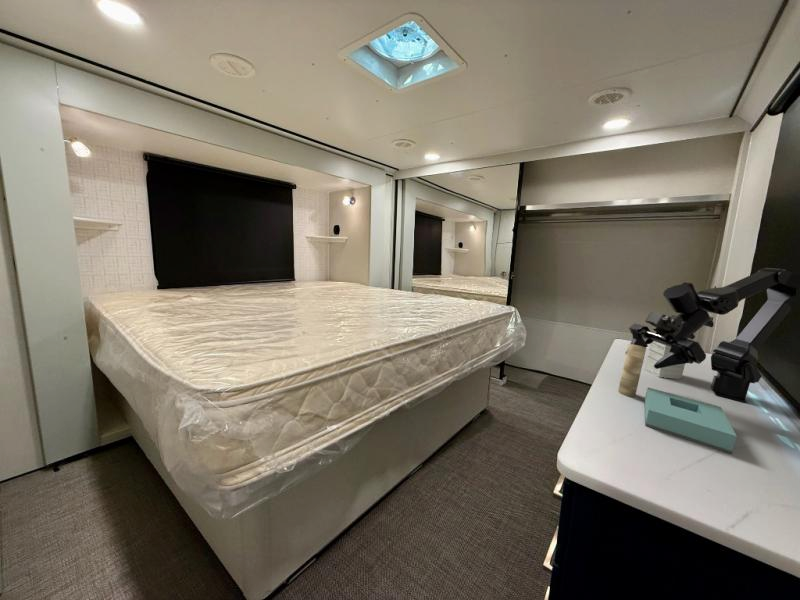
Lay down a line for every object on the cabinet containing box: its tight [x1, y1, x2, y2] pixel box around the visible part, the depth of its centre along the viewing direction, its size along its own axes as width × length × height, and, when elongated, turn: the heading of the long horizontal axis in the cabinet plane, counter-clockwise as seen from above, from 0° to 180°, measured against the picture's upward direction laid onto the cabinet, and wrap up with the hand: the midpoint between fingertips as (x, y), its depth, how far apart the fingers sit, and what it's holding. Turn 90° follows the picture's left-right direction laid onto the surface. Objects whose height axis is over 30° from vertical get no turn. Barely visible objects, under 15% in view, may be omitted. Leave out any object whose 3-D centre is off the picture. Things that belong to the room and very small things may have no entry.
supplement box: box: [643, 341, 686, 380], centre depth 104 cm, size 7×7×13 cm
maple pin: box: [617, 343, 647, 398], centre depth 86 cm, size 4×4×14 cm
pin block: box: [643, 387, 738, 454], centre depth 73 cm, size 14×16×4 cm
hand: (639, 360), depth 86 cm, fingers open, 9 cm apart
